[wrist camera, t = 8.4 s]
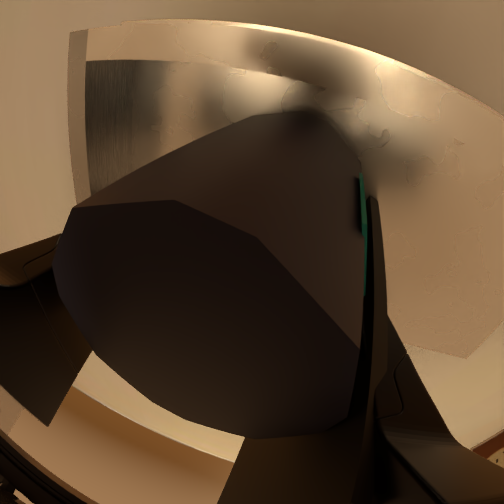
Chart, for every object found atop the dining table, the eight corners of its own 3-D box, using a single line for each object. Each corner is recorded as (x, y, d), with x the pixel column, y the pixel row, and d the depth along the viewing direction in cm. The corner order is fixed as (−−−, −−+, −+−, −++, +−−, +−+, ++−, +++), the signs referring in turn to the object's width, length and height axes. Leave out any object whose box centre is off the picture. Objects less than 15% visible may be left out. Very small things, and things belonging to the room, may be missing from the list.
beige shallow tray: (581, 181, 7) (620, 219, 4) (465, 352, 15) (472, 399, 12) (128, 22, 9) (70, 23, 7) (127, 245, 17) (93, 282, 15)
